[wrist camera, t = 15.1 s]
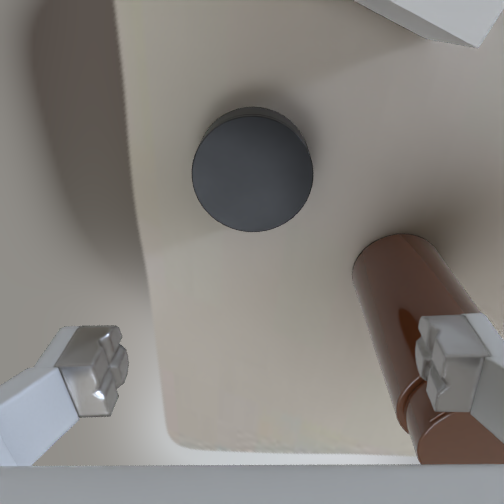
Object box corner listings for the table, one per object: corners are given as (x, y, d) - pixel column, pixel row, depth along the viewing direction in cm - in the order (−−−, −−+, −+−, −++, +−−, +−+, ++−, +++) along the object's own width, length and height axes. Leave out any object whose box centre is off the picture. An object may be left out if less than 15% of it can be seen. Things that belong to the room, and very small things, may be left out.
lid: (178, 133, 24) (170, 144, 22) (287, 87, 22) (289, 95, 20) (224, 229, 27) (221, 246, 25) (323, 194, 25) (328, 209, 23)
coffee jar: (458, 264, 28) (591, 438, 16) (394, 319, 30) (472, 503, 19) (396, 216, 26) (496, 374, 15) (334, 278, 29) (379, 453, 17)
